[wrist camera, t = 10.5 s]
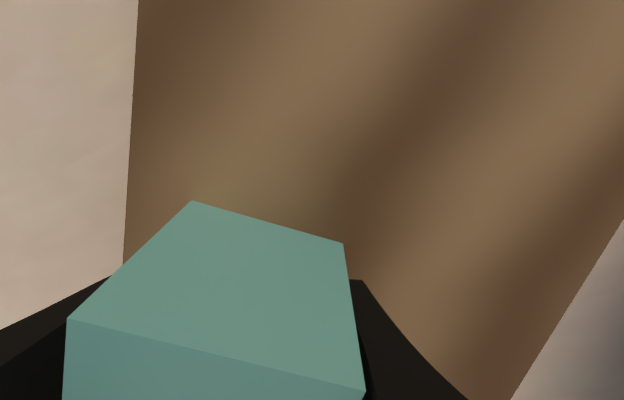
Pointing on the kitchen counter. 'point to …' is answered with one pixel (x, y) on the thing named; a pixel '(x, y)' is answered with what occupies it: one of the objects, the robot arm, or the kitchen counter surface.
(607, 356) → the kitchen counter surface
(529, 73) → the board
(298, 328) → the teal cube
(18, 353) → the robot arm
